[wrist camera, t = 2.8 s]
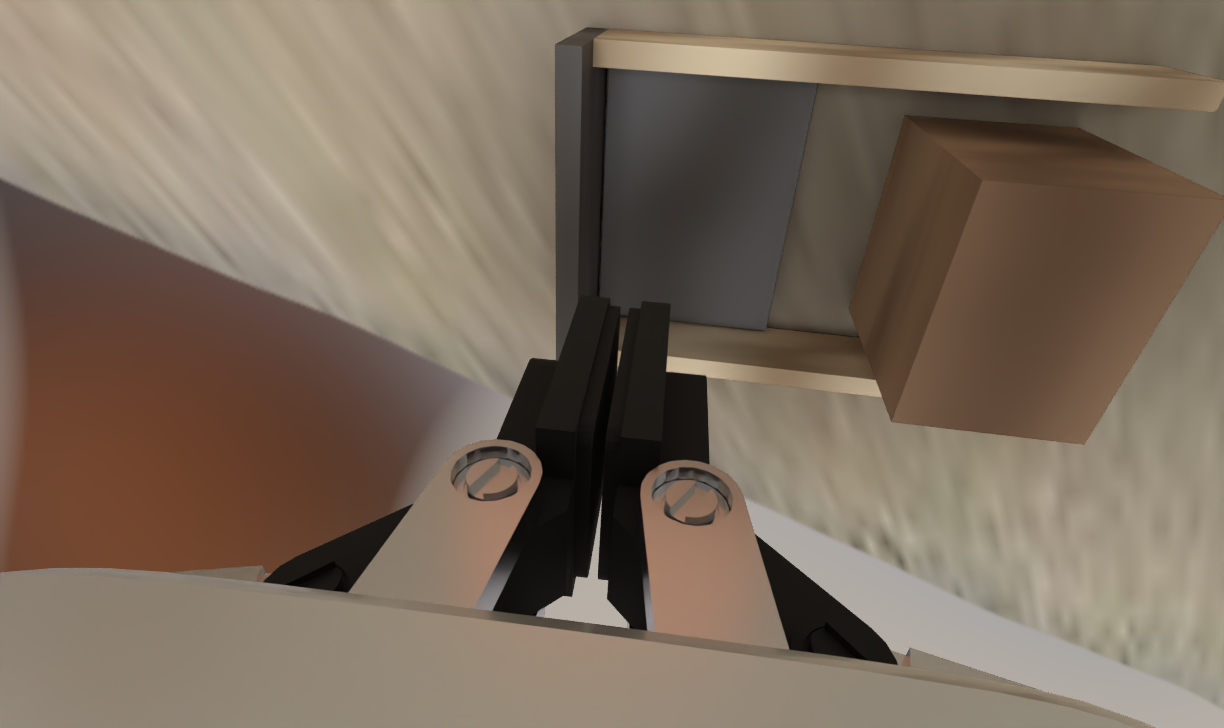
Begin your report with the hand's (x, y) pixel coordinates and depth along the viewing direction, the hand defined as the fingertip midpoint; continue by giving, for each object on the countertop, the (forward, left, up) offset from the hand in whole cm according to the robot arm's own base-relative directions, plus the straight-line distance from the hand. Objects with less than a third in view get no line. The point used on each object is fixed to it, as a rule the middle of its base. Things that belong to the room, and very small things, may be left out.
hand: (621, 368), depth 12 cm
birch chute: (-5, 0, -9) cm, 10 cm away
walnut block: (-9, 0, -9) cm, 13 cm away
